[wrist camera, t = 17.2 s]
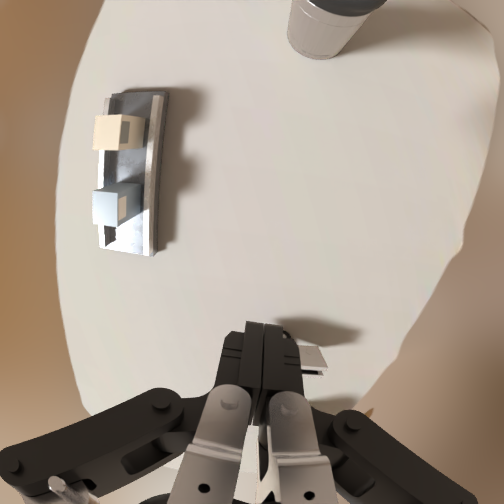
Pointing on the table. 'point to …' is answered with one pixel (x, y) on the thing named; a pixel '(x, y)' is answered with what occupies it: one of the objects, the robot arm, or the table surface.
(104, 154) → the tray
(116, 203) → the block
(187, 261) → the table surface
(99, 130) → the block
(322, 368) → the grey wheeled device
